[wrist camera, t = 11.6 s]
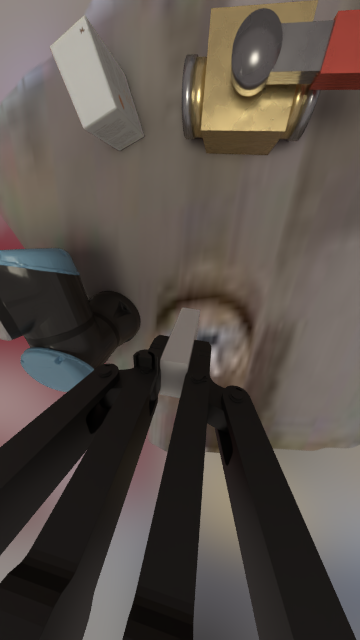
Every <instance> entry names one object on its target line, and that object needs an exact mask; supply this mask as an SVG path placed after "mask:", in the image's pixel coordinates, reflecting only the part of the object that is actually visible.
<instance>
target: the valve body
mask: <svg viewBox="0 0 360 640" xmlns="http://www.w3.org/2000/svg"><path fill="white" fill-rule="evenodd" d="M317 3H318V0H313V1H301V2H288V3H275V4H262V5H249V6H236V7H224V8H211V20H210V31H209V42H208V54H207V57H197V58H196V60H195V65H194V72H193V82H192V102H191V120H192V133H193V137H194V138H203V141H204V145H205V149H206V153H213V154H248V155H268V154H269V152H270V151H271V150H272V148H273V147H274V146H275V144H276V143H277V142H278V140H279V139H289V138H290V137H291V135H292V133H293V132H294V129H295V127H296V125H297V123H298V120H299V118H300V115H301V112H302V110H303V107H304V104H305V101H306V98H307V95H308V91H309V88H310V85H311V84H267V85H266V86H265V87H264V88H263V89H262V90H261V91H260V92H258V93H257V94H255V95H252V96H243V95H241V94H239V93H238V92H237V91H236V89H235V88H234V86H233V83H232V79H231V59H232V48H233V43H234V39H235V36H236V34H237V31H238V29H239V27H240V26H241V24H242V23H243V21H244V20H245V19H246V18H247V17H248V16H249V15H250V14H251V13H252V12H254V11H255V10H258V9H261V8H268V9H271V10H272V11H274V12H275V13H276V14H277V16H278V17H279V19H280V22H281V23H295V22H313V19H314V15H315V11H316V7H317Z"/></svg>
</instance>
